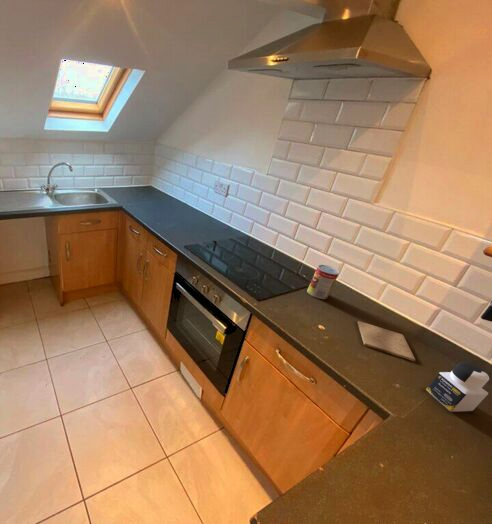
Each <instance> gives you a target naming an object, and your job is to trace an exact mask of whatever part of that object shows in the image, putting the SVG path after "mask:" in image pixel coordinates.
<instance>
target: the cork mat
mask: <svg viewBox="0 0 492 524" xmlns="http://www.w3.org/2000/svg"><path fill="white" fill-rule="evenodd" d="M357 327H358V329H359V333H360V336H361V339H362V342H363V346H367V347H369V348H372V349H374V350H375V349H376V350H378V351H381V352H384V353H387V354H391V355H392V356H395V357H399V358H402V359H405V360H408V361H411V362H416V358H415V356H414V354H413V352H412V350H411V347H410V346H409V344H408V342H407V340H406V337H405V336H404V334H403V333H398V332H396V331H392V330H389V329H386V328H383V327H380V326H376V325H373V324H371V323H367V322H364V321H361V320H357Z"/></svg>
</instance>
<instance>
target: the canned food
mask: <svg viewBox="0 0 492 524" xmlns="http://www.w3.org/2000/svg"><path fill="white" fill-rule="evenodd" d="M339 274H340V271H339V270H338V269H337V268H335V267H332V266H330V265H326V264H319V265H317V267H316V269H315V272H314V274H313V275H312V278H311V280H310V283H309V285H308V287H307V290H306V292H307V293H308V294H309V295H310V296H311V297H314V298H316V299H320V300H326V299H328V297H329V295H330V294H331V291H332V289H333V287H334V285H335V282H336V280H337V279H338V277H339ZM322 297H323V298H322ZM324 297H326V298H324Z"/></svg>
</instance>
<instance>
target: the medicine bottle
mask: <svg viewBox="0 0 492 524" xmlns="http://www.w3.org/2000/svg"><path fill="white" fill-rule="evenodd" d="M489 381H490V376H489V374H488V373H487V372H486V371H485V370H484V369H482V368H481V367H479V366H477V365H476V364H472V363H470V362H466V361H459V362H458V363H456V365H455V366H454V367H453V368H452V370H451V371H449V372H448V371H440V372H438V373H437V374H436V376H435V377H434V379H433V380H432V381H431V383H429V385H428V386H427V387H426V389H425V390H426V391H427V392H428V394H430V395H431V396H432V397H433V398H434V399H435V400H437V401H438V402H439V403H440V404H441V405H442V406H443V407H444V408H445V409H447V411H449V412H450V413H453V412H455V413H456V412H458V413H459V412H473V411H474V410H475V409H476V408H477V407H478V406H479V405H480V404H481V403H482V401H483V400H484V399H485V398H486V397H487V396H488V395H489V392H488V391H486V390H485V389H484V388H483V387H484V386H485V385H486V384H487V383H488V382H489Z"/></svg>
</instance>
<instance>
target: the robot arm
mask: <svg viewBox="0 0 492 524" xmlns="http://www.w3.org/2000/svg"><path fill="white" fill-rule="evenodd" d="M480 319H481V320H483V321H487V322H492V300H490V302H489V305H488V307H487V308H486V309H485V310H484V312H483V313H482V314H481V315H480Z"/></svg>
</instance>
